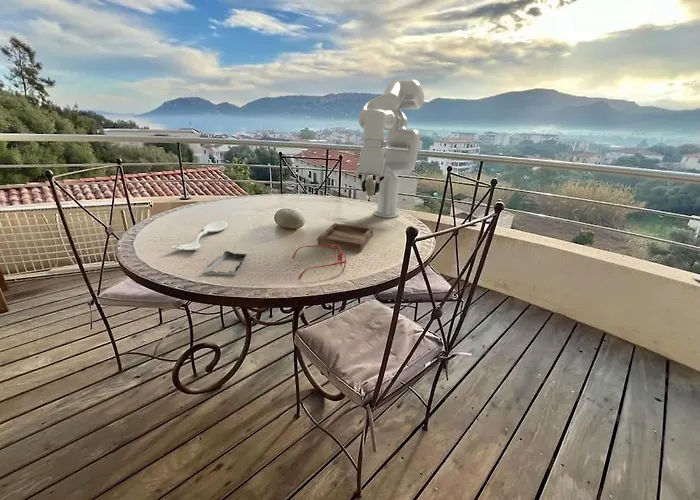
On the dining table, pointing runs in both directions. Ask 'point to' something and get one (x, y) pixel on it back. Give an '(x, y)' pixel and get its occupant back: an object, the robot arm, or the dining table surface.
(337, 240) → the wooden tray
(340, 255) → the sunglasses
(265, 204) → the dining table surface
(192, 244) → the spoon
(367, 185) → the cuneiform tablet
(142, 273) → the dining table surface
